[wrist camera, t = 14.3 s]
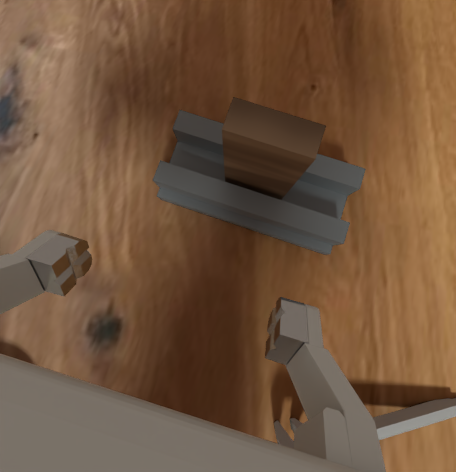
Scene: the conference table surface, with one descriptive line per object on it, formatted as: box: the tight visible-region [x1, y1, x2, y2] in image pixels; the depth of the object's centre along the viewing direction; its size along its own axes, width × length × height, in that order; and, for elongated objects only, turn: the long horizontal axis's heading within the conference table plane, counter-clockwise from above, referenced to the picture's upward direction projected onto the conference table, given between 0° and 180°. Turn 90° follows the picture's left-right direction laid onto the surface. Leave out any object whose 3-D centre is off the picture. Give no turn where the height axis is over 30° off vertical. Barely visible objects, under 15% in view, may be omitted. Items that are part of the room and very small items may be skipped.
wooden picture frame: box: [222, 97, 326, 200], centre depth 21 cm, size 3×6×11 cm, turn 71°
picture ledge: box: [153, 110, 365, 255], centre depth 26 cm, size 10×20×4 cm, turn 71°
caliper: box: [274, 398, 456, 449], centre depth 23 cm, size 20×1×6 cm, turn 97°
